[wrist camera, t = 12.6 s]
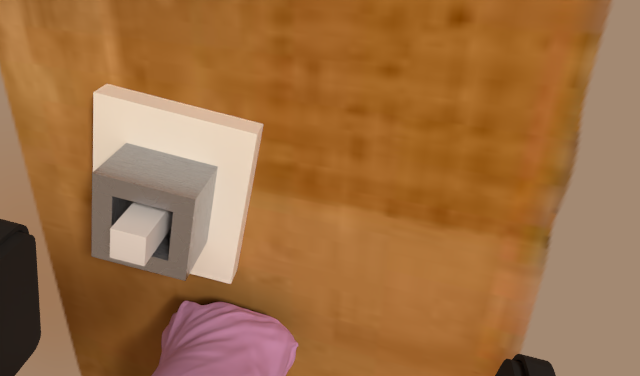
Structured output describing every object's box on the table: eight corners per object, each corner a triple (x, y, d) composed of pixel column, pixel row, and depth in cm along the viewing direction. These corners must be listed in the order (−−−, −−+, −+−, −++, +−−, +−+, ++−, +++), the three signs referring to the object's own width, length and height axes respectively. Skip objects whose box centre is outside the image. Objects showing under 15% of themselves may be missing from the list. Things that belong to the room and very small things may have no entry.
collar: (126, 142, 39) (92, 172, 34) (217, 166, 39) (195, 199, 34) (122, 220, 42) (91, 256, 38) (207, 242, 42) (185, 280, 38)
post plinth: (107, 83, 39) (34, 128, 31) (263, 124, 39) (230, 179, 31) (103, 235, 46) (43, 303, 38) (237, 269, 46) (204, 345, 38)
